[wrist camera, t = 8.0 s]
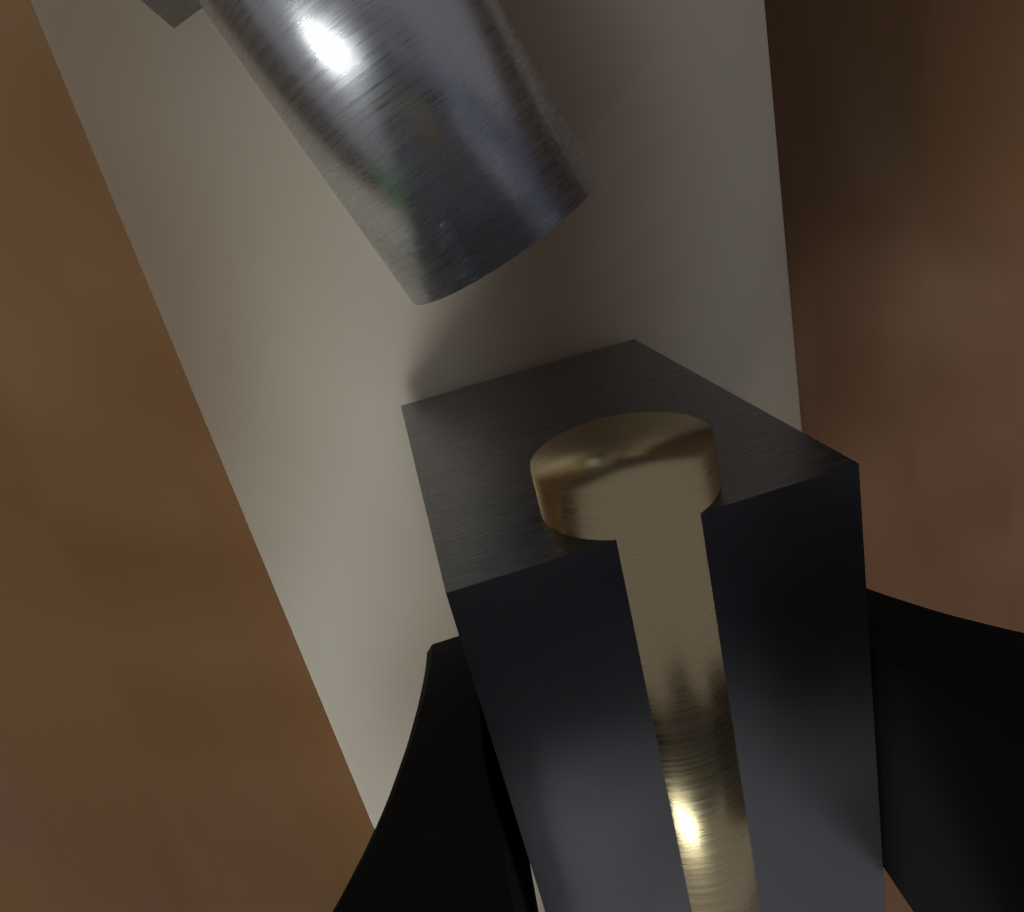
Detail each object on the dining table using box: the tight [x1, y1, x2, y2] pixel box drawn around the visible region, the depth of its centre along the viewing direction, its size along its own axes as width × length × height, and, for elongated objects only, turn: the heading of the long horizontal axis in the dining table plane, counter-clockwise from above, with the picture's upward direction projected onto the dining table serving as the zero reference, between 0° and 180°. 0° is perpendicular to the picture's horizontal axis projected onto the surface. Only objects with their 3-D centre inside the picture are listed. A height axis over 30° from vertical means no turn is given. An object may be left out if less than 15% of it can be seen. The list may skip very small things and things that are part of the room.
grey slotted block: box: [401, 339, 886, 912], centre depth 11 cm, size 4×9×6 cm, turn 13°
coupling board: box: [30, 0, 802, 912], centre depth 15 cm, size 10×28×1 cm, turn 13°
